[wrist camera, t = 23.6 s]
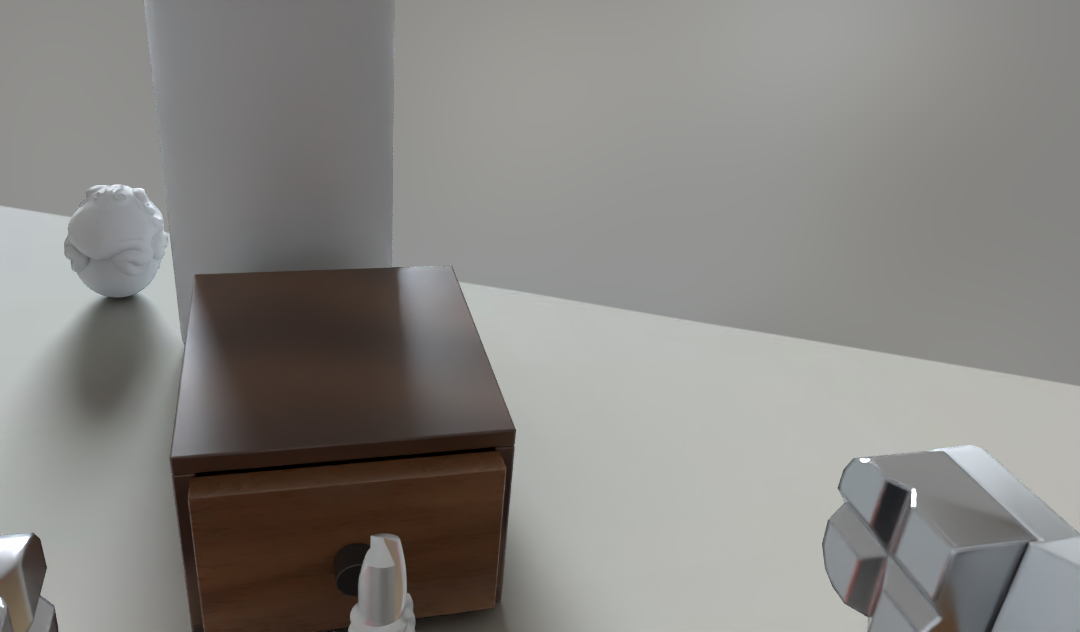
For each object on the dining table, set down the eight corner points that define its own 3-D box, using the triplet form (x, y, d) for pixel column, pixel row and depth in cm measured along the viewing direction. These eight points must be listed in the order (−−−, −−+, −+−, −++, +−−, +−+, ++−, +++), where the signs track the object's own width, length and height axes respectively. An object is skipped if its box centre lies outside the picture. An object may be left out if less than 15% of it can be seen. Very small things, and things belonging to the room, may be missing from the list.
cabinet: (501, 601, 41) (516, 429, 36) (192, 641, 38) (169, 458, 33) (445, 410, 53) (452, 264, 49) (209, 427, 50) (194, 273, 45)
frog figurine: (187, 270, 65) (177, 175, 62) (151, 319, 59) (138, 216, 56) (97, 264, 65) (82, 168, 61) (52, 313, 59) (33, 209, 55)
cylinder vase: (244, 416, 51) (205, -82, 39) (147, 322, 59) (89, -118, 47) (430, 349, 59) (445, -84, 47) (323, 273, 66) (312, -114, 54)
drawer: (501, 630, 38) (513, 488, 35) (203, 671, 35) (185, 521, 32) (442, 421, 50) (447, 301, 47) (218, 438, 48) (206, 312, 44)
